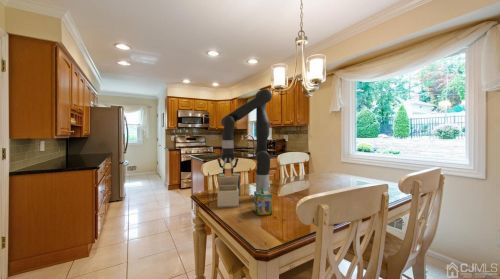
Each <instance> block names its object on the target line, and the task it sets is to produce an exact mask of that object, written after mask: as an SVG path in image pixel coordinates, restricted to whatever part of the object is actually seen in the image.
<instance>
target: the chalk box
mask: <svg viewBox="0 0 500 279" xmlns="http://www.w3.org/2000/svg"><path fill="white" fill-rule="evenodd" d="M260 188H261V191H256V190H255V191H254V192H253V194H254V195H253V198H254V199H253V203H254V206H253V210H254V212H255V215H256V216H267V215H273V194H272V193H271V191H270V192H269V191H263V189H262V187H261V186H260Z"/></svg>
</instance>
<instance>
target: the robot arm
mask: <svg viewBox="0 0 500 279" xmlns="http://www.w3.org/2000/svg"><path fill="white" fill-rule="evenodd" d="M272 98H273V92H272V91H271V90H269V89H268V88H264V89H261V90H258V91H257V92H256V94H255V97H254V98H253V99H251V100H250V101H247V102H246V103H244V104H242V105H241V106H239V107H237V108H236V109H235V110H233V111H232V112H230V113H229V114H227V115H225V116H223V117H222V119H221V122H220V123H221V126H222V127H223V131H222V136H221V137H222V139H221V141H222V142H221V157H219V158H217V163H218V166H219V168H221V169H222V173H224V174H225V169H226V168H225V167H226V164H230V167H231V168H230V169H231V174H232V173H234V168H237V165H238V161H239V158H238V157H235V150H234V149H235V143H234V131H235V126H236V125H235V124H236V122H238V121H240V120H242V119H244V118H245V117H246V116H247V115H249V114H250V113H251V112H253V111H254V110H256V111H255V112H256V113H255V116H256V117H255V119H256V121H255V135H256V136H255V138H256V148H255V149H256V150H255V156H254V157H255V161H256V169H255V191H261V188H260V186H261V187H262V189H263V191H269V192H270V193H271V190H270V188H271V186H270V171H271V156H270V154H269V152H268V146H267V145H268V139H269V135H270V119H269V117H268V114H267V103H269V102H271V101H272ZM222 161H223V164H222V163H221V162H222ZM233 162H234V165H233Z"/></svg>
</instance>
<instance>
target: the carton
mask: <svg viewBox="0 0 500 279" xmlns="http://www.w3.org/2000/svg"><path fill="white" fill-rule="evenodd" d="M217 187H218V188H217V209H218V208H220V209H222V208H239V207H240V206H239V205H240V200H239V199H240V196H239V190H238V185H218V184H217Z"/></svg>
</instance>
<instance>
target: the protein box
mask: <svg viewBox="0 0 500 279" xmlns="http://www.w3.org/2000/svg"><path fill="white" fill-rule="evenodd" d="M222 176H225V174H224V173H223V172H219V173H218V177H222ZM231 176H239V179H238V190H239V197H240V196H241V194H240V192H241V191H240V190H241V188H240V187H241V186H240V185H241V183H240V182H241V178H240V176H241V174H240V172H239V171H238V172H237V171H235V172H233V173H232V174H231Z"/></svg>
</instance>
